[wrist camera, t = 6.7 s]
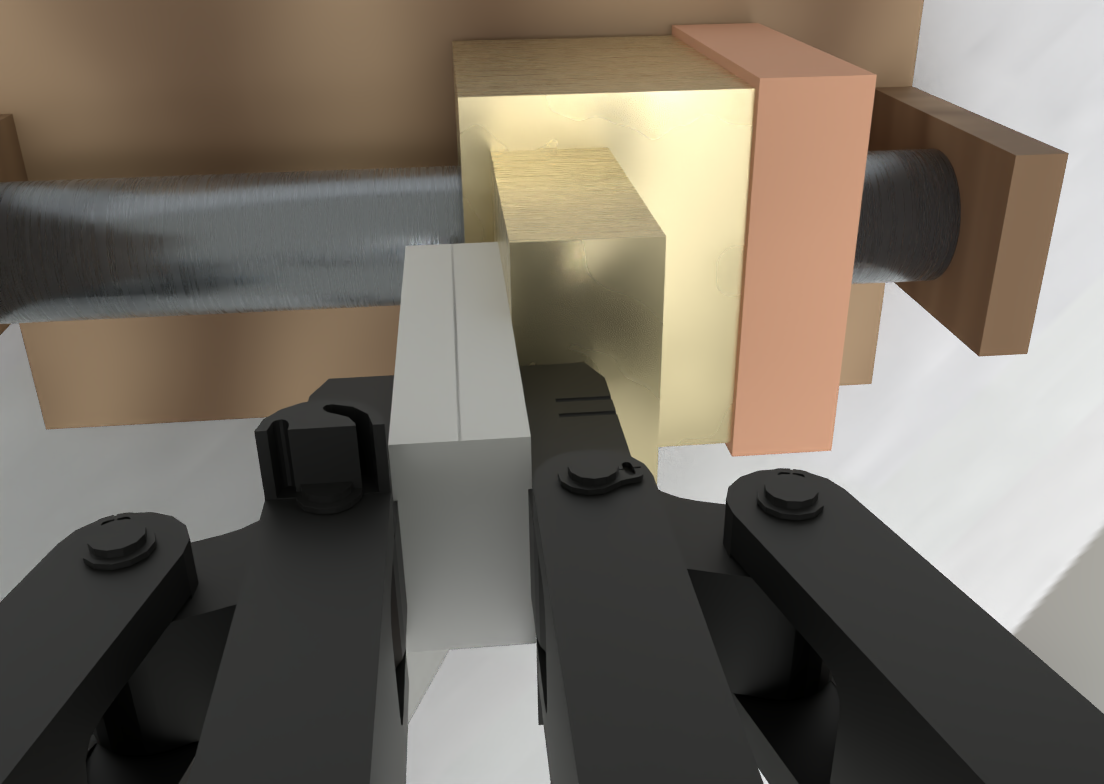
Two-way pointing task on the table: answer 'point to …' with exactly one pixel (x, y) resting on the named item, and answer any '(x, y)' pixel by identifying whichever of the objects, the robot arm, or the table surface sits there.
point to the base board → (417, 165)
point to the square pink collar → (793, 231)
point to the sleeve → (615, 216)
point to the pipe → (335, 237)
